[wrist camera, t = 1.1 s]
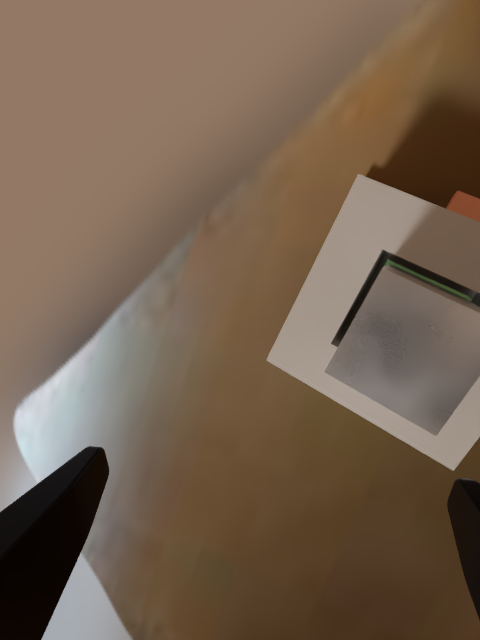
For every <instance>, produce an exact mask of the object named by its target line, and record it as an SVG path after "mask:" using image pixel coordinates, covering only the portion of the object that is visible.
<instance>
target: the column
mask: <svg viewBox="0 0 480 640" xmlns="http://www.w3.org/2000/svg"><path fill="white" fill-rule="evenodd" d="M471 299H472V298H471V297H469V296H467V295H465V294H463V293H461V292H459V291H457V290H454V289H452V288H450V287H448V286H446V285H443V284H441V283H439V282H437V281H435V280H432V279H430V278H428V277H426V276H424V275H421V274H419V273H417V272H415V271H413V270H410V269H408V268H406V267H404V266H402V265H399V264H397V263H395V262H393V261H391V260H389V259H387V261H386V263H385V265H384V267H383V268H382V269H381V271H380V273H379V275H378V277H377V278H376V280H375V282H374V284H373V285H372V287H371V289H370V291H369V293H368V294H367V296H366V298H365V300H364V302H363V303H362V305H361V307H360V309H359V310H358V312H357V314H356V316H355V318H354V319H353V321H352V323H351V325H350V327H349V328H348V330H347V332H346V334H345V336H344V337H343V339H342V341H341V343H340V344H339V346H338V348H337V350H336V352H335V353H334V355H333V357H332V359H331V361H330V362H329V364H328V366H327V368H326V369H325V371H324V372H325V373H326V374H328V375H330V376H332V377H333V378H335V379H337V380H339V381H340V382H342V383H344V384H346V385H347V386H349V387H351V388H353V389H354V390H356V391H358V392H360V393H361V394H363V395H365V396H367V397H368V398H370V399H372V400H374V401H375V402H377V403H379V404H381V405H382V406H384V407H386V408H388V409H389V410H391V411H393V412H395V413H396V414H398V415H400V416H402V417H403V418H405V419H407V420H409V421H410V422H412V423H414V424H416V425H417V426H419V427H421V428H423V429H424V430H426V431H428V432H430V433H431V434H433V435H435V436H437V435H438V433H439V432H440V430H441V429H442V428H443V426H444V425H445V423H446V422H447V421H448V419H449V418H450V417H451V415H452V414H453V412H454V411H455V410H456V408H457V407H458V405H459V404H460V403H461V401H462V400H463V399H464V397H465V396H466V394H467V393H468V392H469V390H470V389H471V387H472V386H473V385H474V383H475V382H476V380H477V379H478V378H479V376H480V307H478V306H477V305H475V304H474V303H472V302H471Z"/></svg>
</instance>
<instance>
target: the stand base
mask: <svg viewBox="0 0 480 640" xmlns="http://www.w3.org/2000/svg"><path fill="white" fill-rule="evenodd" d="M387 259H389V260H391V261H393V262H395V263H397V264H399V265H402V266H404V267H406V268H408V269H410V270H413V271H415V272H417V273H419V274H421V275H424V276H426V277H428V278H430V279H432V280H435V281H437V282H439V283H441V284H443V285H446V286H448V287H450V288H452V289H454V290H457V291H459V292H461V293H463V294H465V295H467V296H469V297H471V298H472V299H471V302H472V303H474V304H475V305H477V306H478V307H480V199H479V198H476V197H474V196H471V195H468V194H466V193H463V192H461V191H457V192H456V193H455V194H454V195H453V197H452V198H451V200H450V202H449V204H448V205H447V207H446V209H445V208H443V207H440V206H438V205H435V204H433V203H430V202H428V201H425V200H423V199H420V198H418V197H415V196H413V195H410V194H408V193H405V192H403V191H400V190H398V189H395V188H393V187H390V186H388V185H385V184H383V183H380V182H377V181H375V180H372V179H370V178H367V177H365V176H362V175H360V174H358V176H357V178H356V180H355V182H354V184H353V186H352V188H351V190H350V192H349V194H348V196H347V198H346V200H345V202H344V204H343V206H342V208H341V210H340V212H339V214H338V216H337V218H336V220H335V222H334V224H333V226H332V228H331V230H330V232H329V234H328V236H327V238H326V240H325V242H324V244H323V246H322V249H321V251H320V253H319V255H318V257H317V259H316V261H315V263H314V265H313V267H312V269H311V271H310V273H309V275H308V277H307V279H306V281H305V283H304V285H303V287H302V289H301V291H300V293H299V295H298V297H297V299H296V301H295V303H294V305H293V307H292V309H291V311H290V313H289V315H288V317H287V319H286V321H285V323H284V325H283V327H282V329H281V331H280V333H279V336H278V338H277V340H276V342H275V344H274V346H273V348H272V350H271V352H270V354H269V356H268V358H267V361H268V362H270V363H272V364H273V365H275V366H277V367H279V368H280V369H282V370H284V371H285V372H287V373H289V374H290V375H292V376H294V377H295V378H297V379H299V380H301V381H302V382H304V383H306V384H307V385H309V386H311V387H312V388H314V389H316V390H317V391H319V392H321V393H323V394H324V395H326V396H328V397H329V398H331V399H333V400H334V401H336V402H338V403H339V404H341V405H343V406H345V407H346V408H348V409H350V410H351V411H353V412H355V413H356V414H358V415H360V416H361V417H363V418H365V419H367V420H368V421H370V422H372V423H373V424H375V425H377V426H378V427H380V428H382V429H384V430H385V431H387V432H389V433H390V434H392V435H394V436H395V437H397V438H399V439H400V440H402V441H404V442H406V443H407V444H409V445H411V446H412V447H414V448H416V449H417V450H419V451H421V452H422V453H424V454H426V455H428V456H429V457H431V458H433V459H434V460H436V461H438V462H439V463H441V464H443V465H444V466H446V467H448V468H450V469H451V470H453V471H454V469H455V468H456V467H457V465H458V464H459V463H460V461H461V460H462V459H463V458H464V456H465V455H466V454H467V452H468V451H469V450H470V449H471V447H472V446H473V445H474V443H475V442H476V441H477V439H478V438H479V437H480V376H479V378H478V379H477V380H476V382H475V383H474V385H473V386H472V387H471V389H470V390H469V392H468V393H467V394H466V396H465V397H464V399H463V400H462V401H461V403H460V404H459V405H458V407H457V408H456V410H455V411H454V412H453V414H452V415H451V417H450V418H449V419H448V421H447V422H446V423H445V425H444V426H443V428H442V429H441V430H440V432H439V433H438V435H437V436H435V435H433V434H431V433H430V432H428V431H426V430H424V429H423V428H421V427H419V426H417V425H416V424H414V423H412V422H410V421H409V420H407V419H405V418H403V417H402V416H400V415H398V414H396V413H395V412H393V411H391V410H389V409H388V408H386V407H384V406H382V405H381V404H379V403H377V402H375V401H374V400H372V399H370V398H368V397H367V396H365V395H363V394H361V393H360V392H358V391H356V390H354V389H353V388H351V387H349V386H347V385H346V384H344V383H342V382H340V381H339V380H337V379H335V378H333V377H332V376H330V375H328V374H326V373H325V372H324V371H325V369H326V368H327V366H328V364H329V362H330V361H331V359H332V357H333V355H334V353H335V352H336V350H337V348H338V346H339V344H340V343H341V341H342V339H343V337H344V336H345V334H346V332H347V330H348V328H349V327H350V325H351V323H352V321H353V319H354V318H355V316H356V314H357V312H358V310H359V309H360V307H361V305H362V303H363V302H364V300H365V298H366V296H367V294H368V293H369V291H370V289H371V287H372V285H373V284H374V282H375V280H376V278H377V277H378V275H379V273H380V271H381V269H382V268H383V267H384V265H385V263H386V261H387Z"/></svg>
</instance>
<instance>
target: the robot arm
mask: <svg viewBox="0 0 480 640" xmlns="http://www.w3.org/2000/svg"><path fill="white" fill-rule="evenodd" d="M108 476H109V466H108V462H107V458H106V454H105V451H104V449H103V448H101V447H92V446H89V447H87V448H85V449H83V450H82V451H81V452H79V453H78V454H77V455H76V456H74V457H73V458H72V459H70V460H69V461H68V462H66V463H65V464H64V465H62V466H61V467H60V468H58V469H57V470H56V471H54V472H53V473H52V474H50V475H49V476H48V477H46V478H45V479H44V480H42V481H41V482H40V483H38V484H37V485H36V486H34V487H33V488H32V489H30V490H29V491H28V492H26V493H25V494H24V495H22V496H21V497H20V498H19V499H17V500H16V501H14V502H13V503H12V504H11V505H9V506H8V507H6V508H5V509H4V510H3V511H1V512H0V640H41V639H42V637H43V634H44V632H45V630H46V628H47V626H48V623H49V621H50V619H51V616H52V615H53V612H54V610H55V608H56V606H57V603H58V601H59V599H60V597H61V594H62V592H63V590H64V588H65V586H66V583H67V581H68V579H69V577H70V575H71V573H72V570H73V568H74V566H75V564H76V562H77V559H78V557H79V555H80V553H81V550H82V548H83V546H84V544H85V541H86V539H87V537H88V534H89V532H90V529H91V526H92V523H93V521H94V518H95V515H96V512H97V509H98V506H99V503H100V500H101V497H102V494H103V491H104V488H105V485H106V482H107V479H108ZM447 505H448V512H449V516H450V520H451V524H452V528H453V532H454V537H455V541H456V545H457V549H458V553H459V557H460V561H461V565H462V569H463V573H464V576H465V580H466V583H467V586H468V589H469V592H470V594H471V597H472V600H473V603H474V606H475V609H476V611H477V614H478V617H479V620H480V483H479V482H477V481H476V480H473V479H463V478H458V479H456V480H455V482H454V484H453V487H452V490H451V493H450V495H449V498H448V503H447Z"/></svg>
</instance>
